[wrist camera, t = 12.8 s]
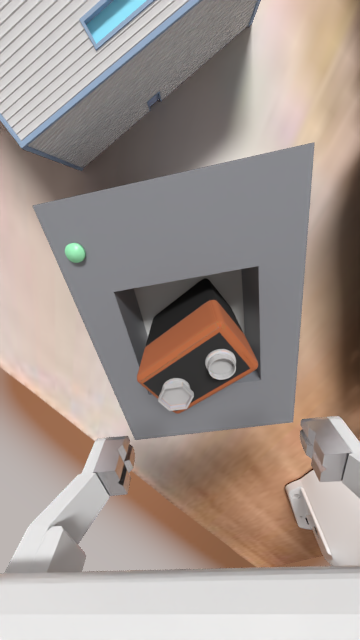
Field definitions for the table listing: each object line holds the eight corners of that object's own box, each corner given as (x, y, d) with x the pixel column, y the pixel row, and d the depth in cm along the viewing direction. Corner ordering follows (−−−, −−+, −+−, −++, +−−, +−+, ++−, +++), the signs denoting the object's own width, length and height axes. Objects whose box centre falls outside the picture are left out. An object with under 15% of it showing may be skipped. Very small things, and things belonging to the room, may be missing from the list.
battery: (151, 317, 22) (128, 392, 13) (205, 274, 20) (224, 327, 11) (179, 345, 23) (176, 430, 14) (232, 308, 21) (268, 380, 12)
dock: (270, 379, 26) (294, 424, 21) (144, 395, 28) (134, 442, 22) (271, 163, 17) (317, 140, 11) (76, 206, 18) (29, 205, 12)
